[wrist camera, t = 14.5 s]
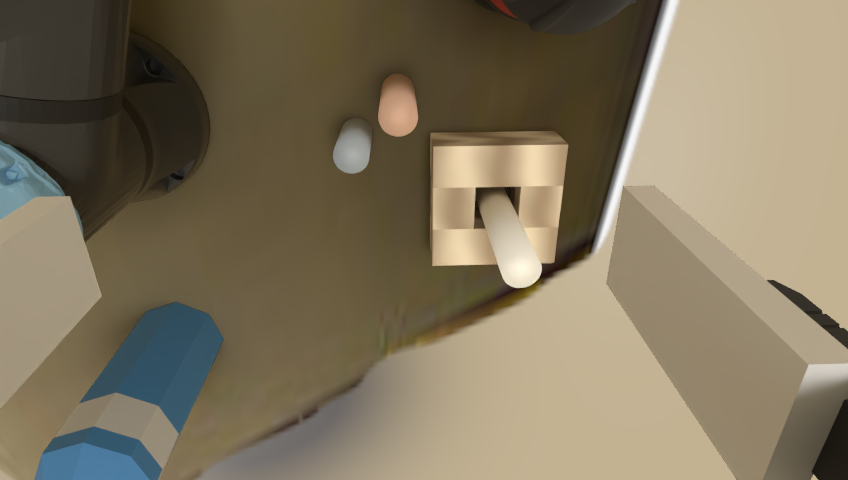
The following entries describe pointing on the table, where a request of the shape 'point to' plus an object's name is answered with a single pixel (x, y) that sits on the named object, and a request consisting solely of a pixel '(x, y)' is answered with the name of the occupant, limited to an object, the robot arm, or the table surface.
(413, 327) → the table surface
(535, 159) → the block
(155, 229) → the table surface
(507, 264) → the long pin
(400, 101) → the medium pin
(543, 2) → the cola bottle
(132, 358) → the water bottle
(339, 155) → the short pin
